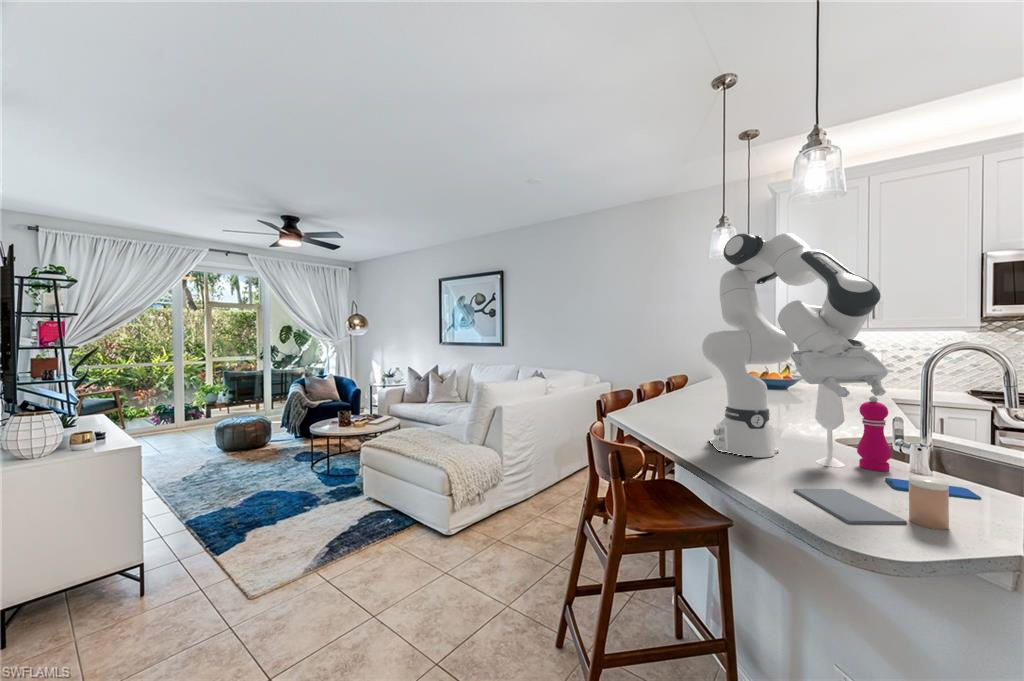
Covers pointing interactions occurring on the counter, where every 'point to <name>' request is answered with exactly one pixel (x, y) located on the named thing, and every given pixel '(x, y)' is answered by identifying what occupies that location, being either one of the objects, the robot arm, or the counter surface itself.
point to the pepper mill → (874, 437)
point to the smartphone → (953, 490)
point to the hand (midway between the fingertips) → (863, 395)
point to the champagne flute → (829, 420)
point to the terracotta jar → (929, 502)
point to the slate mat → (849, 507)
